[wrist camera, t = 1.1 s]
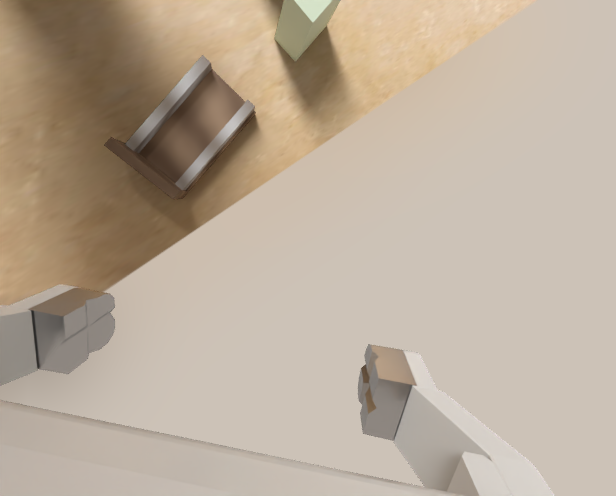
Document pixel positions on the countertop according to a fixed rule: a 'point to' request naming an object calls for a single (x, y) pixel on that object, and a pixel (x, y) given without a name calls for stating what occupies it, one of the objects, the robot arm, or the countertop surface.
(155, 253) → the countertop surface
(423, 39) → the countertop surface
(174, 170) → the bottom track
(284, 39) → the pale green block
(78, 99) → the countertop surface
